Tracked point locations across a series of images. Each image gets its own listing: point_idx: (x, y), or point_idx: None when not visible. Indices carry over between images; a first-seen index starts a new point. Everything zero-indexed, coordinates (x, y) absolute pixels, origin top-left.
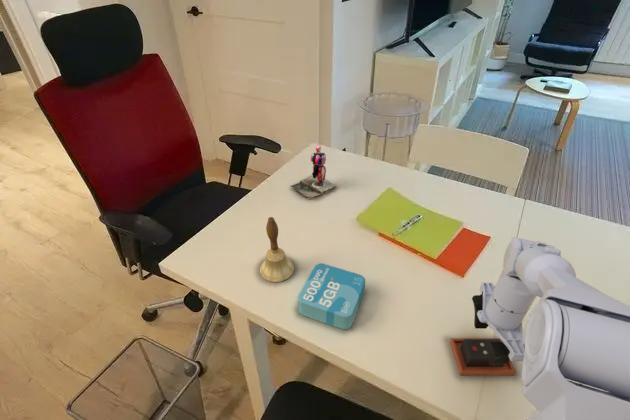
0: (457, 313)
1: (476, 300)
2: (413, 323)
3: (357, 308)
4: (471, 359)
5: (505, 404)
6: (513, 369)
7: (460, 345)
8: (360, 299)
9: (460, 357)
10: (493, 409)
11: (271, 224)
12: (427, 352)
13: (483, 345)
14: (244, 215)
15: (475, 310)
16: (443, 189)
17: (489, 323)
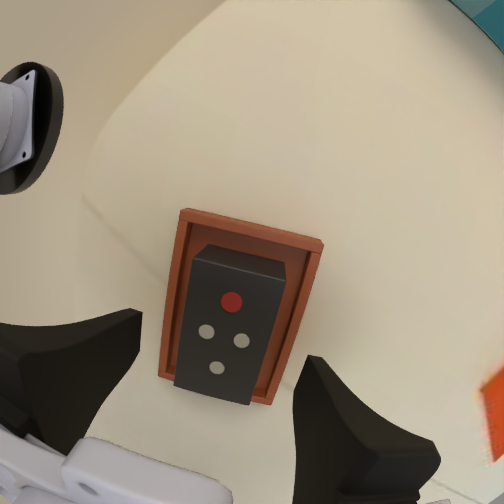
0: (407, 326)
1: (403, 470)
2: (420, 146)
3: (474, 11)
4: (192, 262)
5: (94, 292)
6: (165, 376)
7: (292, 270)
8: (500, 30)
9: (247, 243)
10: (85, 252)
11: None
12: (299, 132)
13: (236, 342)
14: None
15: (361, 415)
16: None
17: (53, 478)
